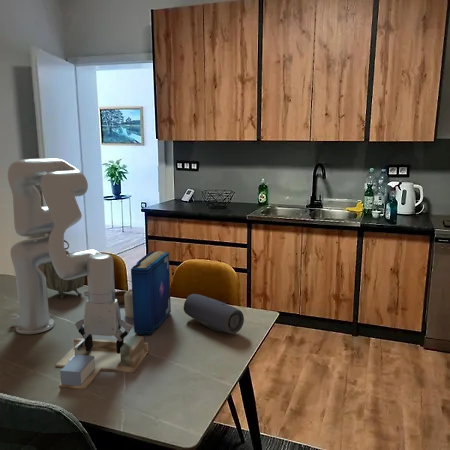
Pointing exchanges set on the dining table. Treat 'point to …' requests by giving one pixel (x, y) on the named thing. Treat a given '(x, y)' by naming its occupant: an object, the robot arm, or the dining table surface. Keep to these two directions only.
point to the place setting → (120, 297)
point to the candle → (128, 304)
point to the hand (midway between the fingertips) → (104, 350)
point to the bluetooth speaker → (214, 313)
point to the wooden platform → (110, 357)
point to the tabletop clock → (61, 280)
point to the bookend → (80, 349)
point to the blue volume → (150, 292)
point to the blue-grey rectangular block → (77, 370)
